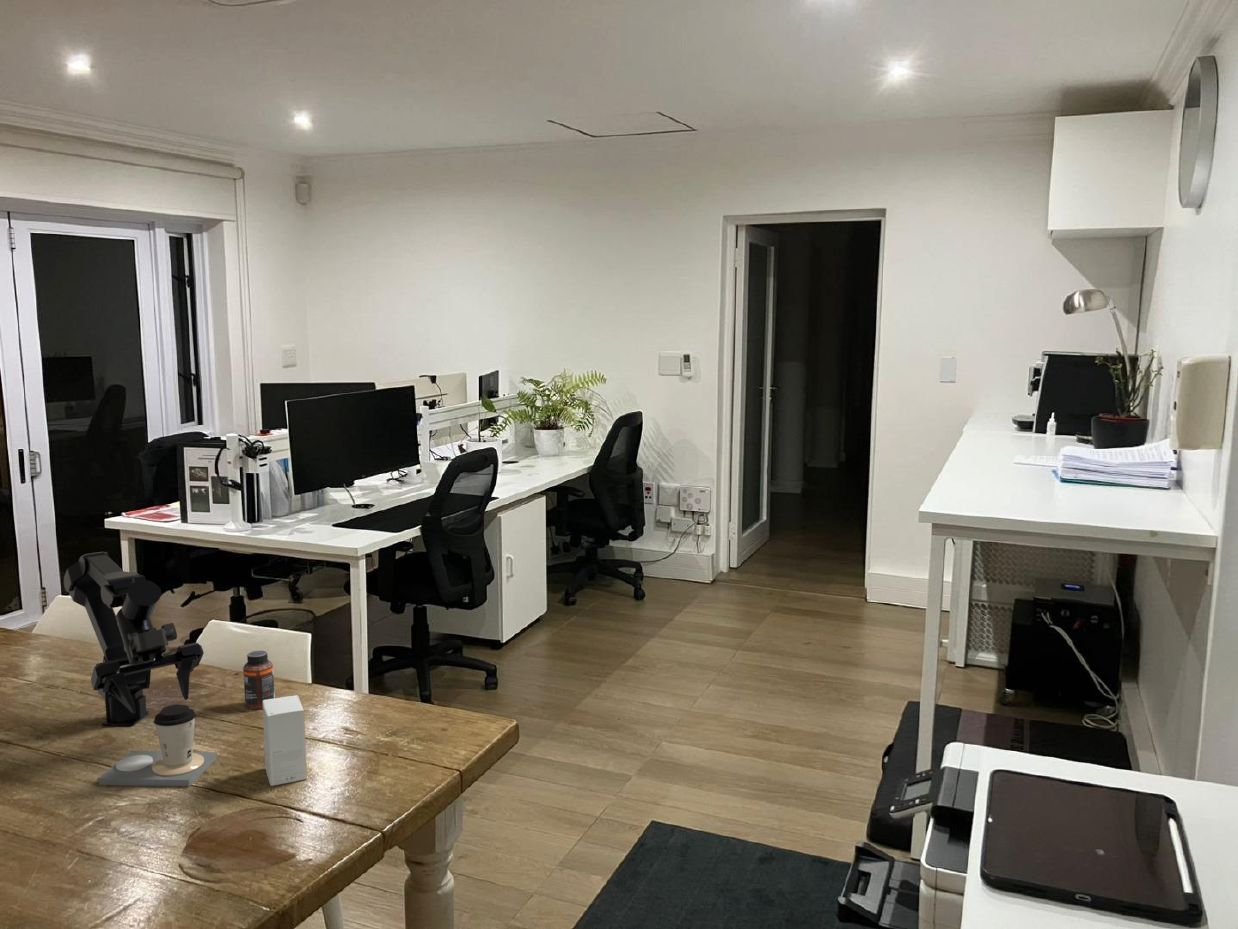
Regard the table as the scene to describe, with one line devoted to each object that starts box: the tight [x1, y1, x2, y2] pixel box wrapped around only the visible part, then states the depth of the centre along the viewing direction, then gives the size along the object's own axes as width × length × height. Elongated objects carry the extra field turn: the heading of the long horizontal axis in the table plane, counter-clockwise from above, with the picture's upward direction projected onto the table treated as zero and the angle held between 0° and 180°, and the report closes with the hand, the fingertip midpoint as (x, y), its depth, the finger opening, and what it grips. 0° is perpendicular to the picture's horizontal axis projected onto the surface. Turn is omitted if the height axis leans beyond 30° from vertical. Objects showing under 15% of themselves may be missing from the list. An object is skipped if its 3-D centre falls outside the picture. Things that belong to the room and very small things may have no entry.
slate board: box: [98, 750, 218, 788], centre depth 174 cm, size 16×11×2 cm
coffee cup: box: [153, 703, 197, 769], centre depth 173 cm, size 7×7×10 cm
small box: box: [262, 694, 308, 787], centre depth 173 cm, size 8×6×13 cm
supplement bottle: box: [242, 650, 276, 710], centre depth 204 cm, size 6×6×11 cm
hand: (161, 705), depth 179 cm, fingers open, 9 cm apart
